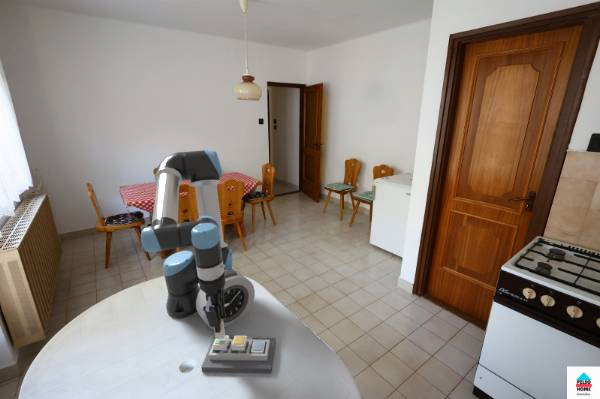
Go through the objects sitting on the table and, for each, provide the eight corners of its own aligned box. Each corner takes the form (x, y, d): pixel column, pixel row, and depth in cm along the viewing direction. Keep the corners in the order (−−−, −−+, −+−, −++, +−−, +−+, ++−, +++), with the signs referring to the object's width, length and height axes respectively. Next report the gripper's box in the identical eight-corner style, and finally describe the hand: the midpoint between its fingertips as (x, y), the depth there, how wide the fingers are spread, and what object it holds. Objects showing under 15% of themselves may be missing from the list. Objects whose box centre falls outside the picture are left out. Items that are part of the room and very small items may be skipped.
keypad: (202, 371, 88) (200, 362, 87) (214, 341, 100) (213, 332, 98) (271, 373, 87) (270, 363, 86) (276, 342, 99) (275, 333, 97)
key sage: (213, 349, 90) (212, 344, 90) (217, 339, 94) (216, 334, 93) (226, 350, 90) (225, 344, 89) (229, 340, 94) (228, 334, 93)
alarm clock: (207, 336, 102) (200, 290, 95) (198, 325, 107) (191, 281, 101) (256, 308, 115) (252, 266, 109) (246, 299, 121) (242, 259, 114)
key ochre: (232, 350, 90) (231, 344, 89) (235, 340, 94) (234, 334, 93) (244, 350, 90) (243, 344, 89) (247, 340, 94) (246, 335, 93)
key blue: (251, 356, 91) (250, 350, 90) (253, 346, 94) (253, 340, 94) (263, 356, 90) (263, 351, 90) (265, 346, 94) (264, 341, 93)
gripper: (216, 288, 77) (226, 354, 84) (229, 262, 89) (237, 322, 97) (190, 287, 77) (201, 353, 85) (206, 262, 90) (215, 322, 97)
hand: (220, 336), depth 91 cm, fingers closed
